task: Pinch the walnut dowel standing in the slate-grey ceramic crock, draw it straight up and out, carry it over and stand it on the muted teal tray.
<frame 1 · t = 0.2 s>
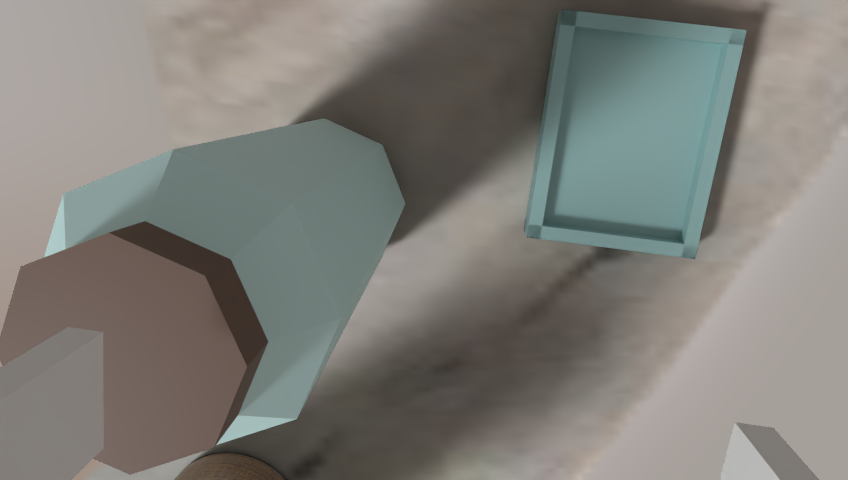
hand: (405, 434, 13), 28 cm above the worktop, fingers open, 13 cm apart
water bottle: (329, 196, 41), on the worktop
tray: (623, 136, 38), on the worktop
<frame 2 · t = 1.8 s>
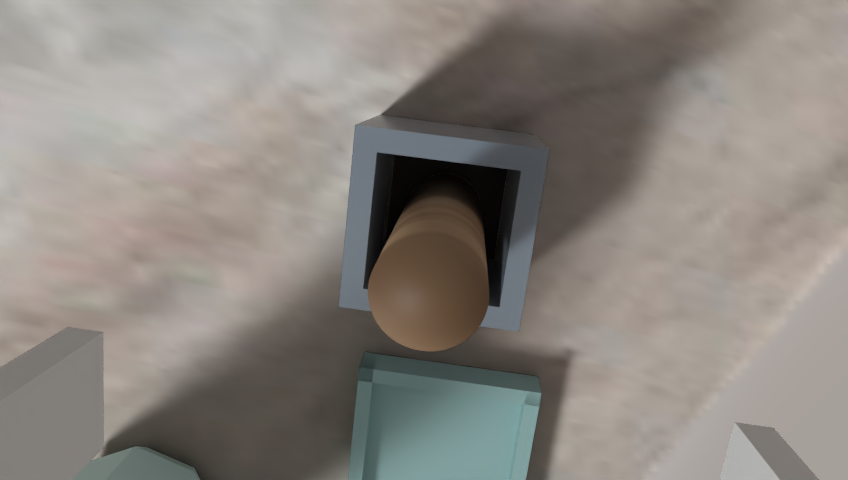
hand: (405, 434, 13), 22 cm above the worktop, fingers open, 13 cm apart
tray: (437, 463, 38), on the worktop
dowel: (444, 210, 35), resting in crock
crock: (446, 199, 34), on the worktop
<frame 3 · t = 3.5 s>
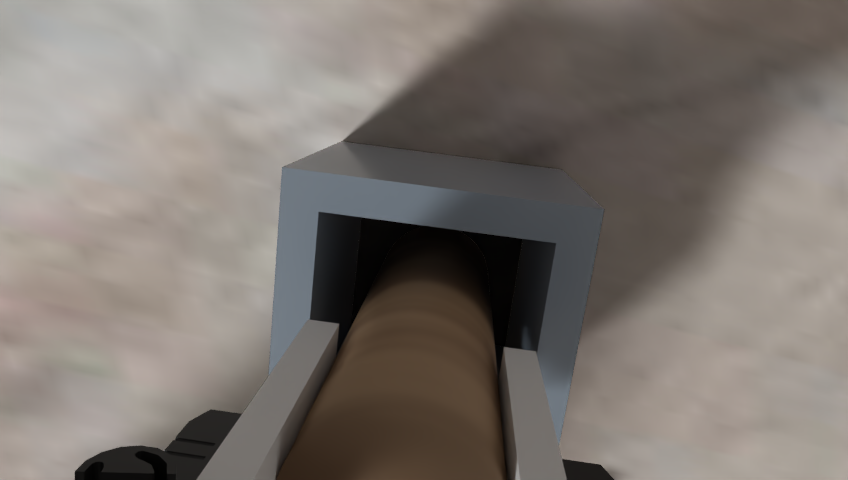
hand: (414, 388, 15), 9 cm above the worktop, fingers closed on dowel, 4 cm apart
dowel: (435, 276, 24), resting in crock, touching gripper
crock: (437, 261, 24), on the worktop
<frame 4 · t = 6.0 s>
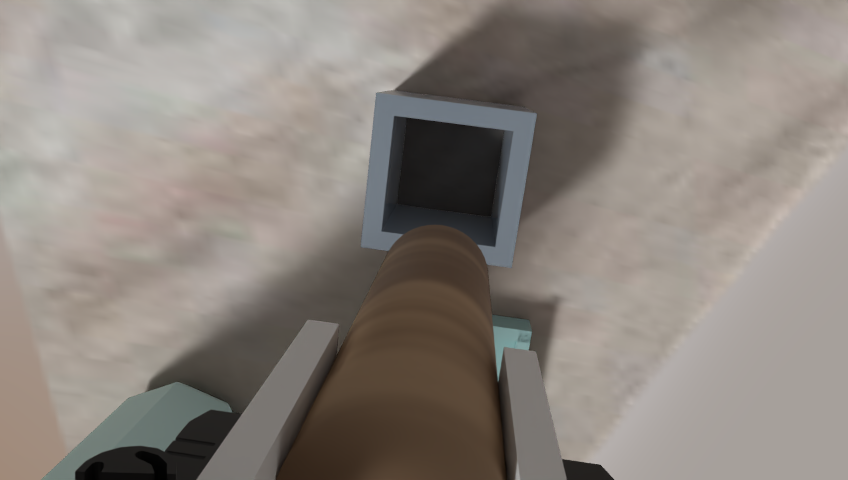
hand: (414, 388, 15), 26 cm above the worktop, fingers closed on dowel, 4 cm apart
water bottle: (190, 435, 46), on the worktop
tray: (440, 397, 44), on the worktop
dowel: (435, 276, 24), point 17 cm above the worktop, touching gripper
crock: (450, 163, 40), on the worktop
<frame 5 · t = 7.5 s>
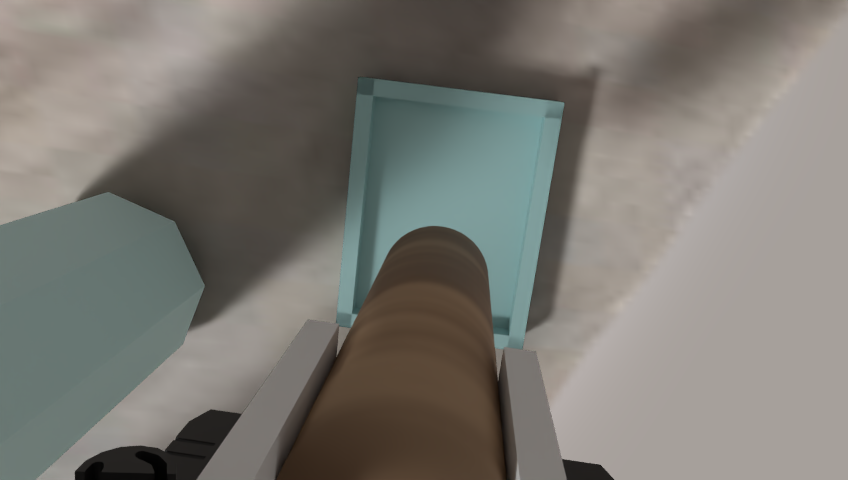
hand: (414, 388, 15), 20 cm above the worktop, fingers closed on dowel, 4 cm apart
water bottle: (130, 273, 37), on the worktop
tray: (445, 212, 34), on the worktop
dowel: (435, 277, 24), point 11 cm above the worktop, touching gripper
when the fingers open (12 cm above the worktop, at t = 8.6 s): dowel drops 1 cm, resting on tray.
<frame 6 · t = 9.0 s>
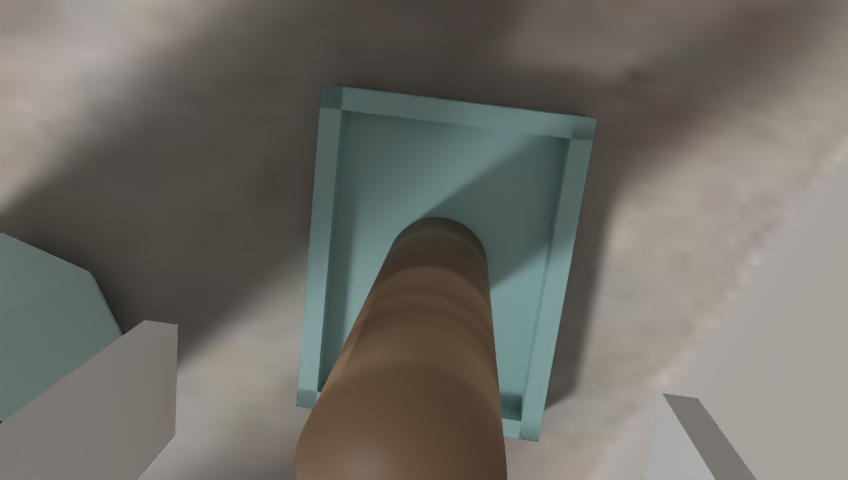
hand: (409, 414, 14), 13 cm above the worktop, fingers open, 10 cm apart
water bottle: (38, 332, 29), on the worktop
tray: (438, 259, 27), on the worktop
dowel: (437, 266, 26), point 1 cm above the worktop, touching tray
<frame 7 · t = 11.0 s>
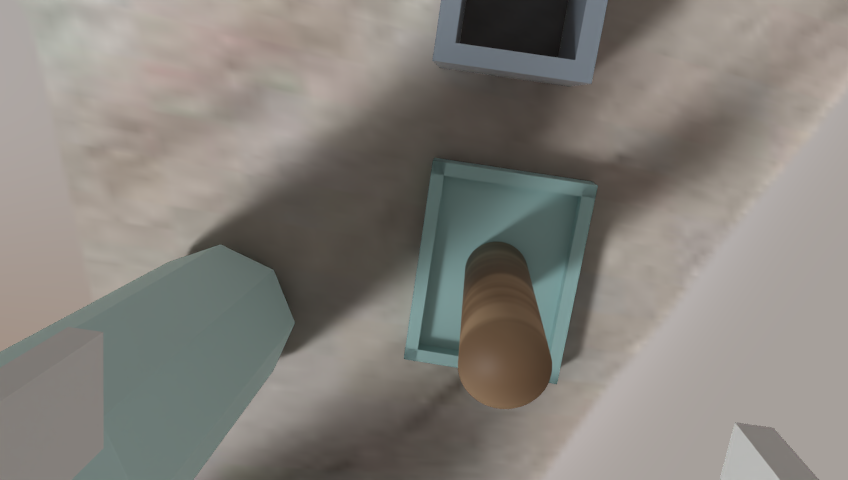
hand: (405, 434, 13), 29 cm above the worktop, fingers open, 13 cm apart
water bottle: (229, 310, 44), on the worktop
tray: (495, 267, 42), on the worktop
dowel: (496, 271, 41), point 1 cm above the worktop, touching tray
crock: (515, 9, 38), on the worktop
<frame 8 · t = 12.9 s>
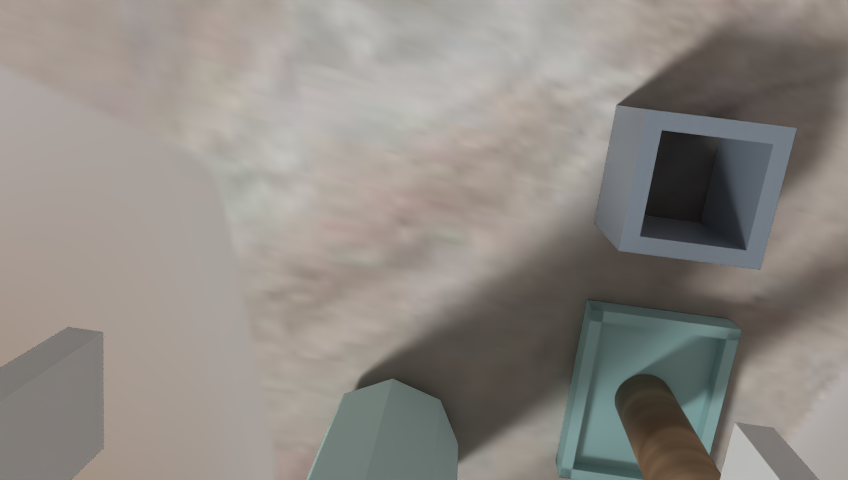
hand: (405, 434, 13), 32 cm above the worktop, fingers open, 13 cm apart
water bottle: (393, 430, 49), on the worktop
tray: (639, 393, 46), on the worktop
dowel: (643, 400, 45), point 1 cm above the worktop, touching tray
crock: (665, 173, 43), on the worktop
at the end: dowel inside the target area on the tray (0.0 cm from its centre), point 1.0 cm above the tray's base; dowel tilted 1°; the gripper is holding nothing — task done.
